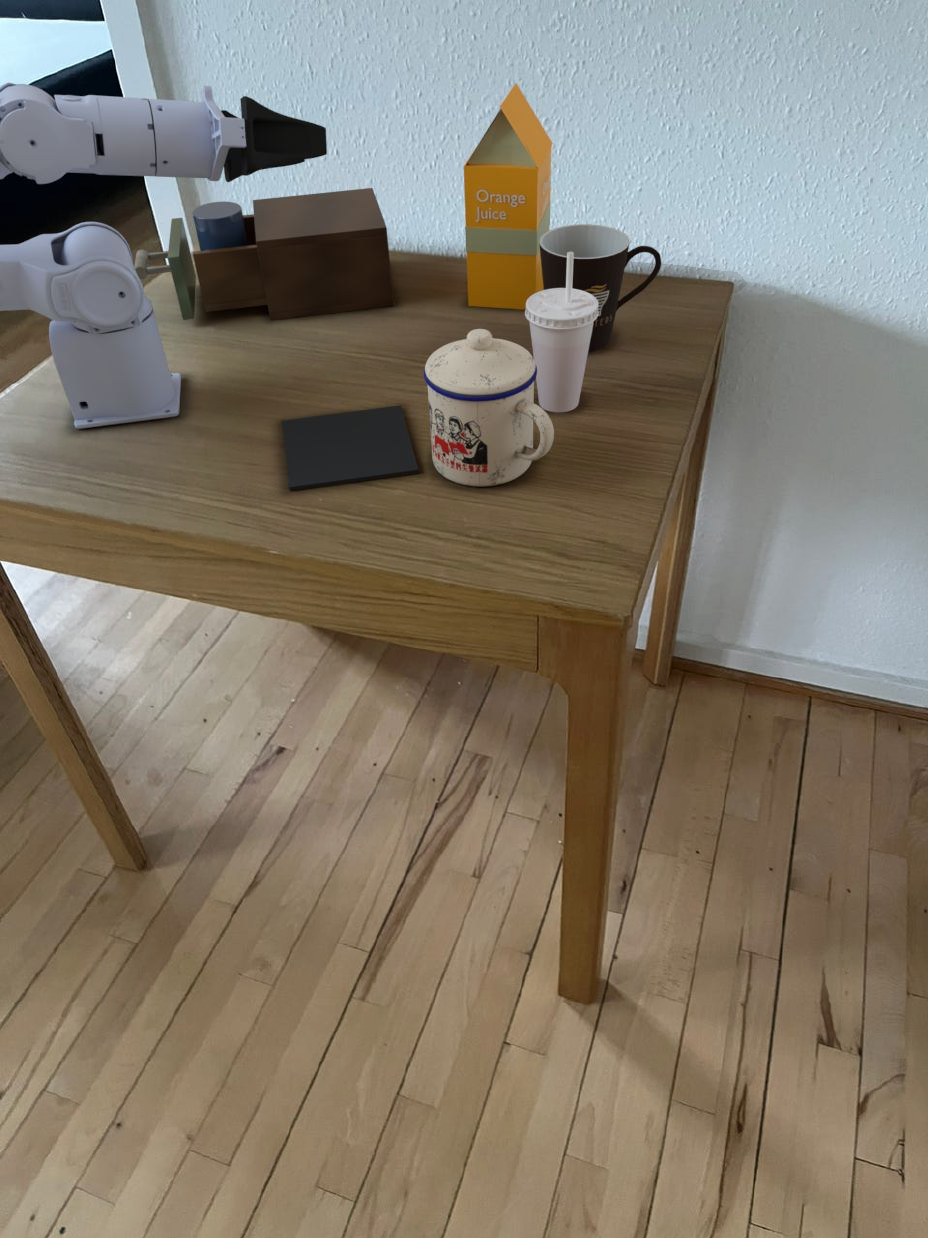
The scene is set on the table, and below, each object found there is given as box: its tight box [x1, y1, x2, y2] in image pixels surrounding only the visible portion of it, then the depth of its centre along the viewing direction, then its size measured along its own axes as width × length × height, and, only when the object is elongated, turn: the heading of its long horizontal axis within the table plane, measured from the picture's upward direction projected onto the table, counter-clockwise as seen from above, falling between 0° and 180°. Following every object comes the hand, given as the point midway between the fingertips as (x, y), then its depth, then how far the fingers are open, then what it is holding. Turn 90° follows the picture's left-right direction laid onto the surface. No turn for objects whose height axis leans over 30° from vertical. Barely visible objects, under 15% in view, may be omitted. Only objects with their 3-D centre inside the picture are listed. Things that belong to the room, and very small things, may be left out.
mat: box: [282, 404, 420, 492], centre depth 84 cm, size 11×11×1 cm
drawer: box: [134, 213, 268, 321], centre depth 105 cm, size 17×11×7 cm
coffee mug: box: [539, 223, 662, 354], centre depth 94 cm, size 12×9×10 cm
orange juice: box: [463, 82, 554, 311], centre depth 100 cm, size 8×9×20 cm
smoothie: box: [524, 252, 599, 413], centre depth 84 cm, size 6×6×14 cm
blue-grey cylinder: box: [191, 201, 249, 251], centre depth 104 cm, size 5×5×8 cm
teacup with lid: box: [423, 328, 555, 487], centre depth 77 cm, size 12×9×12 cm
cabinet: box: [252, 187, 394, 321], centre depth 106 cm, size 14×13×9 cm
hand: (314, 145), depth 83 cm, fingers open, 7 cm apart
